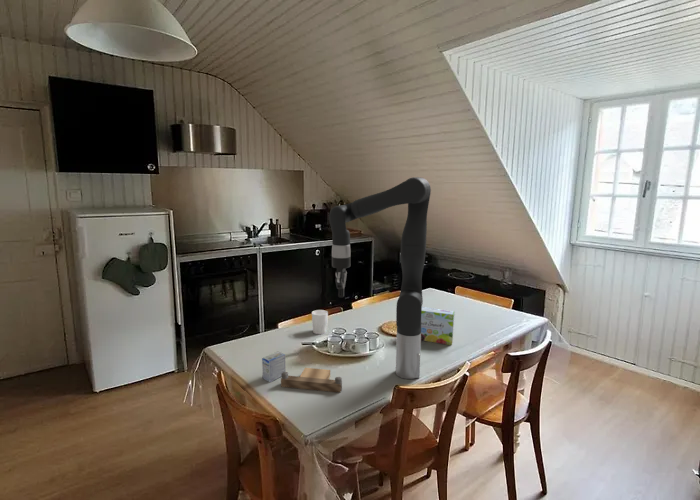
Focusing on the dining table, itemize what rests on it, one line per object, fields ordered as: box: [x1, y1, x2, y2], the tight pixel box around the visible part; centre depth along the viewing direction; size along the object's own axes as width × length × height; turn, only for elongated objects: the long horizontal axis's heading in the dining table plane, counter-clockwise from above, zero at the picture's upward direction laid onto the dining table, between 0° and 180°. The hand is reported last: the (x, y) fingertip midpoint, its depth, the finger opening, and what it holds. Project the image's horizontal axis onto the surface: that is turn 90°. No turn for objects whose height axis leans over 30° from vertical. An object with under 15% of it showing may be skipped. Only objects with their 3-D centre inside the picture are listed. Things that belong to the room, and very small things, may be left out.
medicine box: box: [261, 351, 287, 383], centre depth 154 cm, size 8×4×9 cm, turn 141°
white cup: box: [311, 309, 329, 335], centre depth 198 cm, size 8×8×10 cm
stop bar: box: [280, 371, 343, 393], centre depth 147 cm, size 22×3×4 cm, turn 80°
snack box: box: [421, 306, 455, 346], centre depth 189 cm, size 21×6×15 cm, turn 70°
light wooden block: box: [299, 367, 331, 379], centre depth 152 cm, size 10×8×3 cm
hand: (341, 296), depth 165 cm, fingers closed
